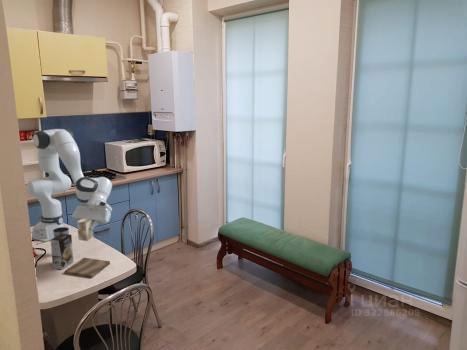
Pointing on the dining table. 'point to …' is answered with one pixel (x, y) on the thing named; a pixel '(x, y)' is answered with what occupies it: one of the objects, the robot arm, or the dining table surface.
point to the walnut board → (87, 267)
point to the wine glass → (60, 231)
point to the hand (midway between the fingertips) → (85, 228)
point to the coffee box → (62, 251)
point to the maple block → (84, 229)
